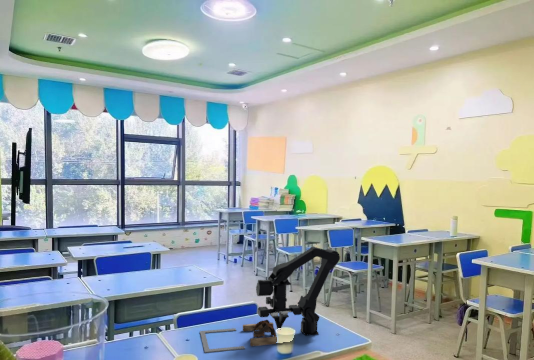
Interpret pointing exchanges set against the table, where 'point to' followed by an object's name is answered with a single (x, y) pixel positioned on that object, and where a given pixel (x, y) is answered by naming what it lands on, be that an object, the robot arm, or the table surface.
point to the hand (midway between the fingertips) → (278, 330)
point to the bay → (207, 350)
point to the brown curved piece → (264, 329)
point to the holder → (259, 340)
